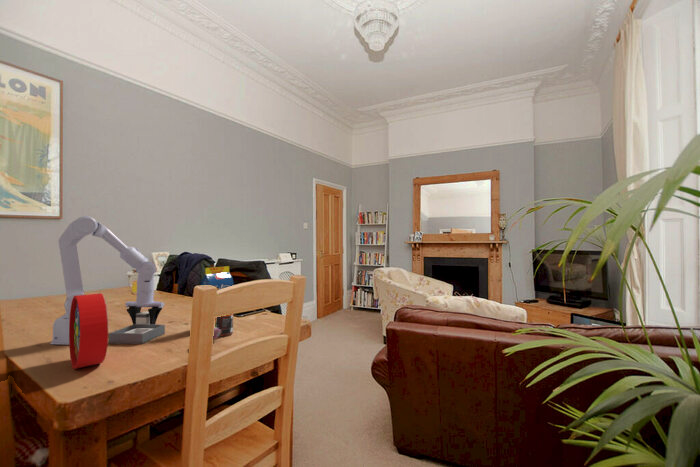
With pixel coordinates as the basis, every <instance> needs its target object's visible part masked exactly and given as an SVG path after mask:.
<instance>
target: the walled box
mask: <svg viewBox="0 0 700 467" xmlns="http://www.w3.org/2000/svg"><path fill="white" fill-rule="evenodd" d="M165 328H166V325H165V324H156V323H155V324H133V323H132V324H131V325H128V326H125V327H123V328H119V329H117V330H114V331H111V332H108V344H121V345H122V344H125V345H126V344H127V345H143V344H146V343H148V342H150V341H152V340H154V338H155V339H156V337H157V338H159V337H160V336H161V337H162V336H163V335H165V333H166V331H165V330H166V329H165ZM158 336H159V337H158Z"/></svg>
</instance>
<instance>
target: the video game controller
mask: <svg viewBox="0 0 700 467" xmlns="http://www.w3.org/2000/svg"><path fill="white" fill-rule="evenodd" d="M221 332H222V330H220V329H219V328H216V327H215V328H214V336H213V343H214V342H215V341H216V340H217V339H218V338H219V337H220V336H219V335H220V334H221Z"/></svg>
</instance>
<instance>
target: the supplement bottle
mask: <svg viewBox="0 0 700 467" xmlns="http://www.w3.org/2000/svg"><path fill="white" fill-rule="evenodd" d="M216 328H219V329H220V330H222V332H221V334H220V335H219V337H227V336H230V335H232V334H233V331H234V313H233V314H231V315H226V316H221V317H217V319H216Z"/></svg>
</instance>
